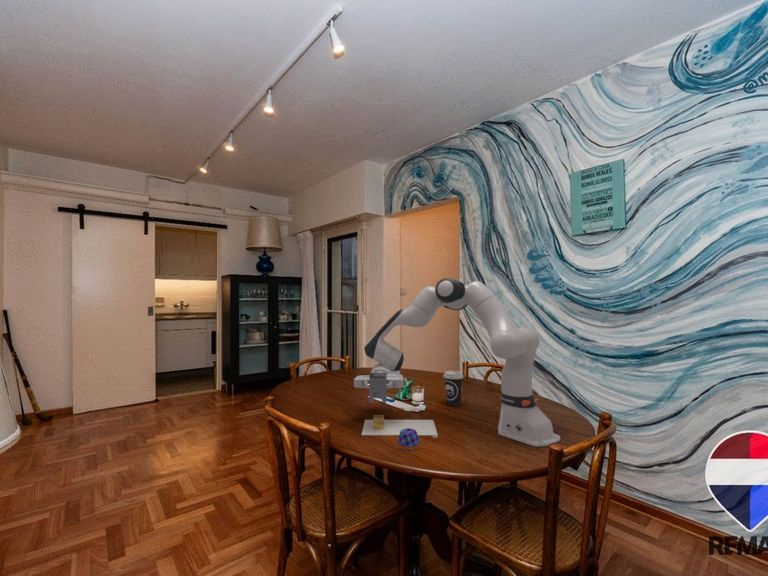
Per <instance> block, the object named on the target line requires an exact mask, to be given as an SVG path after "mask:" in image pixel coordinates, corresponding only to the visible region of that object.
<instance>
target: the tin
mask: <svg viewBox="0 0 768 576" xmlns="http://www.w3.org/2000/svg"><path fill="white" fill-rule="evenodd" d="M369 375H370V376H369V389H368V390H369V392H368V393H369V403H371V404H373V403H374V402H375V401H374V400H375V399H382V400H381V401H382V404H386V403H387V399H388V398H387V397H388V392H387V391H388V389H386V383H387V373H371V372H370V374H369Z"/></svg>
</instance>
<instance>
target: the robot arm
mask: <svg viewBox="0 0 768 576" xmlns="http://www.w3.org/2000/svg"><path fill="white" fill-rule="evenodd" d="M467 306H469V307H470V309H471V310H472V311H473V313H474V314H475V316H476V317H477V318H478V319H479V321H480V322H481V323H482V324H483V326H484V328H485V330H486V331H487V334H488V337H489V339H490V343H489V344H490V345H489V346H490V350H491V352H492V354H494V355H495V356H496V357H498V358H499V359H502V360H504V359H505V363H504V365H503V367H502V370H501V373H500V375H501V378H500V379H501V390H500V394H499V398H500V400H499V401H500V402H501V403H500V404H501V406H500V413H499V422H498V425H497V431H498V432H497V435H498V436H503V437H505V438H508V439H510V440H514V441H517V442H519V443H522V444H526V445H529V446H532V447H536V448H537V447H547V446H551V445H550V444H552V443H555V444H557V443H559V442H560V441H561V436H560V435H558V434H557V433H554V427H553V423H552V421H551V420H550V419H549V418H548V417H547V416H546V414H545V413H544V412H542V410H541V409H540V408H539V407H538V406H537V403H538V402H539V401H538V400H539V398H535V396H534V394H533V368H534V362H535V359H536V353H537V350H538V348H539V346H540V337H539V334H538V333H537V332H536V331H534V330H533V329H531V328H527V327H515V326H514V324H513V322H512V321H511V319H510V316H509V310H508V309H507V308H506V306H505V305H504V304H503V303H502V301H501V300H500V299H499V298H498V297H497V295H496V294H495V293H494V292H493V291H492V290H491V289H490V288H489V287H488V286H486V284H484V283H483V282H482V281H476V280H475V281H472V282H470V283H469V284H467V285H465V284H464V282H462V281H459V280H456V279H455V278H451V277H450V278H449V277H446V278H445V277H444V278H442V279H440V280H439V281H437V283H436V284H435V286H432V285H431V286H430V285H429V286H424V288H423V289H422V290H421V291H420V292H419V293H418V294H417V296H416V297H415V298H414V300H413V301H412V302H411V304H410V305H409V306H408V307H406V308H404V309H399V310H398V311H396V312H395V313H394V314H393V315H392V316H391V317H390V318H389V319H388V320H387V322H385V323H384V325H383V326H381V327H380V329H378V331H377V332H376V333H375V334H374V335H372V336H371V337H370V338H369V339H368V340H367V341H366V342H365V345H364V348H363V349H364V353H365V356H366V357H368V358H370V359H371V360H374V361H375V362H377V363H376V364H375V365H373V367H372V368H371V371H370V373H387V383H386V389H387V390H390V389H397V388H398V389H400V388H401V389H402V388H404V387H405V386H404V385H405V379H404V376H403V375H402V374H401V371H400V369H401V368H402V366H403V363H404V361H405V360H404V359H405V357H404V352H403V351H401V350H400V349H398V348H397V347H395V346H393V345H392V344H390V342H387V341H386V340H385V337H386V336H387V335H388V334H389V333H390V332H391V331H392V330H393V329H394V328H395V327H396V326H402V325H403V326H408V327H410V328H411V327H412V328H423V327H425V326H427V325H428V324H429V322H430V321H431V320H432V319H433V317H434V316H435V315H436V312H437V311H438V310H439V308H441V307H443V308H445V309H450V310H452V311H461V310H464V309H465V308H466V307H467ZM369 376H370V374H368V375H363V374H362V375H356V376H355V378H354V379H353V387H354V388H356V389H367V390H369ZM558 441H559V442H558ZM556 442H557V443H556ZM552 445H553V444H552Z"/></svg>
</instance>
